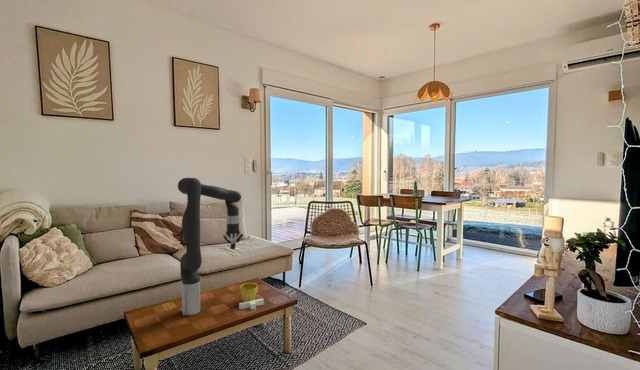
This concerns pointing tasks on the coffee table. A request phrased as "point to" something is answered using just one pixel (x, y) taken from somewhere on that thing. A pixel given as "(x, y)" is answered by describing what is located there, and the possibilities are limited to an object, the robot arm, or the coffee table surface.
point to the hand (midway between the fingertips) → (233, 249)
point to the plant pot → (248, 291)
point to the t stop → (251, 304)
